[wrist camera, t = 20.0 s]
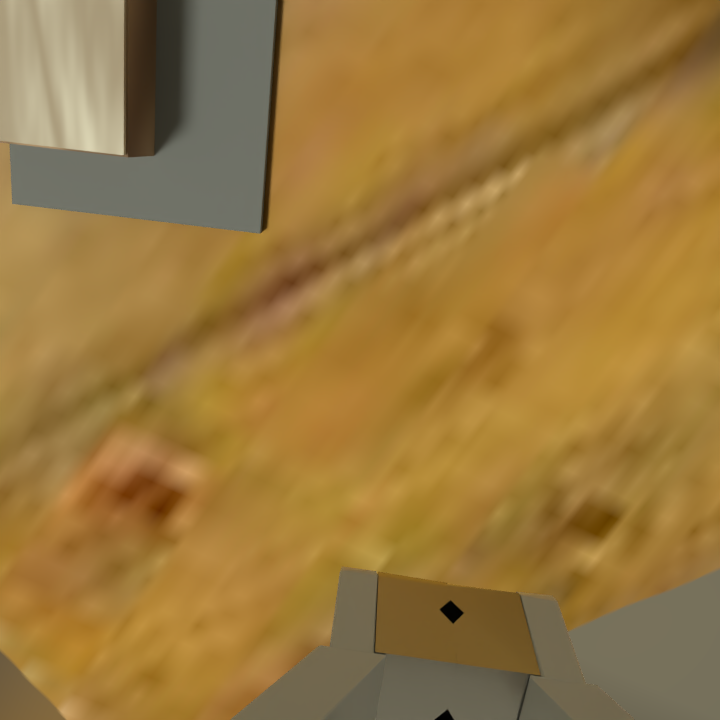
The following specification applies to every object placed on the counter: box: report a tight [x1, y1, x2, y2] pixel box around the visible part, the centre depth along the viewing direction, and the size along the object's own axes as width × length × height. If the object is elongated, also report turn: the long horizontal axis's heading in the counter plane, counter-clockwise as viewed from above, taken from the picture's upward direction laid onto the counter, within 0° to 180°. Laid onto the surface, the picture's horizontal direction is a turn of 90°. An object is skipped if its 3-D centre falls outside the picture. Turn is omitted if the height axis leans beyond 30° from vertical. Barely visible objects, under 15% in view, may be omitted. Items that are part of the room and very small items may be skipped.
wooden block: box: [0, 0, 157, 157], centre depth 33 cm, size 4×9×8 cm
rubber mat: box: [10, 0, 278, 233], centre depth 36 cm, size 14×16×1 cm
